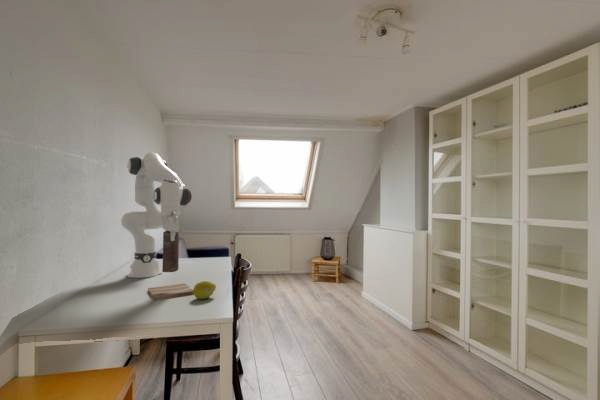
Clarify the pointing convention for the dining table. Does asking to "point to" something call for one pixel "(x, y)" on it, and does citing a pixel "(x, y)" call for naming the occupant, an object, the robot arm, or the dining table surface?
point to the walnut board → (170, 291)
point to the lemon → (203, 289)
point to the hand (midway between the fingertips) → (170, 239)
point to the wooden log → (170, 252)
